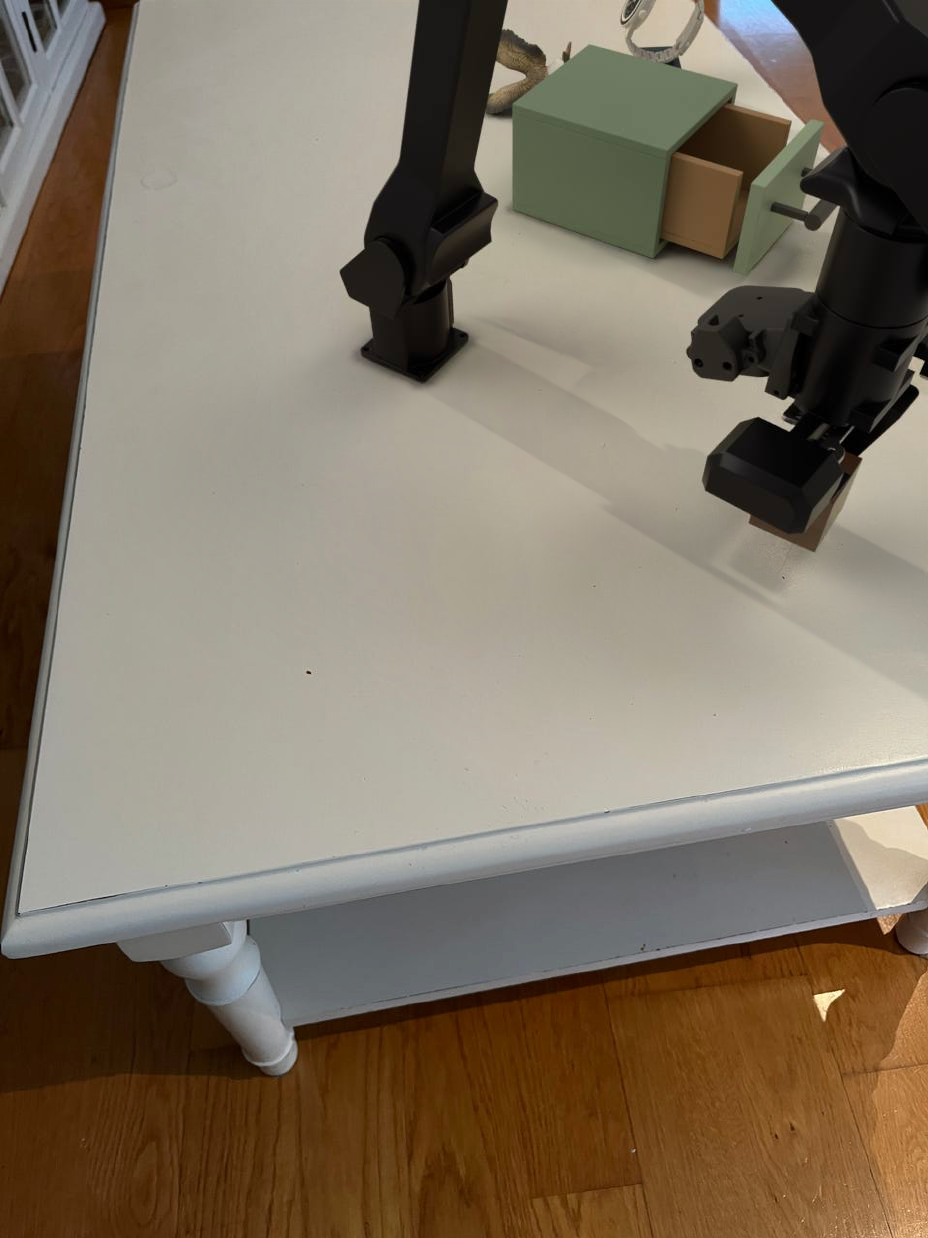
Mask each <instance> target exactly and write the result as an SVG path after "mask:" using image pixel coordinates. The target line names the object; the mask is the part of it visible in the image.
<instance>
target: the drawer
mask: <svg viewBox="0 0 928 1238" xmlns="http://www.w3.org/2000/svg"><path fill="white" fill-rule="evenodd" d="M792 122H793V121H792V120H791V119H787V118H784V117H780V116H776V115H772V114H768V113H765V112H762V111H757V110H754V109H751V108H747V107H743V106H741V105H737V104H734V105H733V104H729V103H725V104H724V105H723V106H722V107H721V108H720V109H719V110H718V111H717V112H716V113H715V114H714V115H713V116H712V117H711V118H709V119H708V120H707V121H706V122H705V123H704V124H703V125H702V126H701V127H700V128H699V129H698V130H697V131H696V132H695V133H694V134H693V135H692V136H691V137H690V138H689V139H688V140H686V141H685V142H684V143H683V144H682V145H681V146H680V147H679V148H678V149H677V150H676V151H675V152H674V153H673V154H672V155H671V158H670V166H669V173H668V180H667V187H666V194H665V202H664V209H663V216H662V223H661V231H660V238H662V239H665V240H668V241H669V242H671V243H674V244H677V245H680V246H683V247H686V248H688V249H692V250H694V251H697V252H700V253H704V254H706V255H709V256H712V257H715V258H718V259H721V260H723V259H725V257H726V256H727V255H728V254H729V253H730V251H731V250H732V249H733V248H734V247H735V246H736V245H737V243H738V245H737V249H736V250H737V251H736V253H735V258H734V265H733V267H732V268H733V269H732V272H733V273H736V274H739V275H741V276H744V277H746V276H747V275H748V274H749V272H751V270H752V269H753V268H754V267H755V266H756V265H757V263H759V261H760V260H761V259H762V258H763V256H764V255H766V253H767V251H769V249H770V248H771V247H772V246H773V245H774V244H775V242H776V241H777V240H778V239H779V238H780V236H781V235H782V234H783V233H784V232H785V230H786V229H787V228H789V226H790V225H791V224H792V223H793V221H795V220H797V221H800V222H802V223H803V225H804V227H805V228H806V229H807V230H808V231H811V232H816V231H819V229H820V228H821V227H822V226H823V224H824V223H826V221H827V220H828V218H829V217H830V216H831V215H832V214H833V212H834V211H835V210H836V209H837V208H838V207H839V206H838V205H835V204H833V203H830V202H827V201H824V200H822V199H819V200H818V202H817V203H816V204H815V205H814V206H813V208H812V209H811V210H810V211H806V210H803V208H804V203H805V199H806V196H807V194H805V193H803V192H802V191H801V190H800V181H801V180H802V178H804V177H805V176H806V175H807V174H808V173H809V172H810V171H811V170H813V169H814V167H815V162H816V159H817V155H818V150H819V147H820V143H821V140H822V136H823V131H824V127H825V123H826V122H825V121H820V120H817V119H814V118H811V119H810V120H809V121H808V122H807V123H806V124H805V125H804V126H803V128H801V130H800V131H799V132H798V133H797V134H796V135H795V136H794V137H793V138H792V139H791V140H790V141H789V143H788V140H789V136H790V131H791V127H792Z"/></svg>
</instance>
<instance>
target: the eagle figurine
mask: <svg viewBox="0 0 928 1238" xmlns="http://www.w3.org/2000/svg"><path fill="white" fill-rule="evenodd" d="M572 43H573V42H572V41H568V43H567V46H566V49H565V50H563V51H562V52H561V54H562V55H561V57H557V58H556V59H555V60H553V62H551V63H550V64H549V65H548V66H547V65H546V64H547V55H546V54H545V53H544V51H543V50H542V48H541V47H539V45H538V44H537V43H534V44H533V43H529V42H528V41H525V39H524V38H522V37H519V35H518V34H515V31H513V29H509V28H502V33H501V38H500V43H499V48H498V53H497V58H496V62H495V63H498V64H500V65H502V67H504V68H506V69H508V70H511V71H516V72H518V73H520V74H523V75H524V76H525V77H524V78H523V79H521V80H519V81H516V82H513V83H510V84H507V85H504V86H501V87H500V88H499V89H497V90H496V91H495V92H491V93H489V96H488V101H487V106H486V111H485V113H488V114H498V113H500V112H504V111H505V110H507V109H511V108H513V103H514V102H516V101H517V100H518V99H519V98H521V97H522V96H523V95H525V94H526V93H527V92H528V91H530V90H531V89H532V88H534V87H535V86H536V85H537V84H539V83H540V82H541V81H543V80H544V79H545V78H546V77H548V76H549V75H550V74H552V73H553V72H554V71H555V70H557V69H558V68H559V67H561V66H562V65H563V64H564V63H566V62H567V61H568V60H569V59H571V51H572Z"/></svg>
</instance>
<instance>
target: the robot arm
mask: <svg viewBox="0 0 928 1238" xmlns="http://www.w3.org/2000/svg"><path fill="white" fill-rule="evenodd" d="M770 2H771V3H772V4H773V5H774V6H775V7H776V9H777V10H778V11H779V12H780V13H781V14H782V16H783V17H784V18H785V19H786V20H787V21H788V22H789V24H791V26H792V27H793V28H794V30H795V31H796V32H797V34H798V36H799V37H800V39H801V41H802V42H803V43H804V45H805V47H806V49H807V50H808V52H809V54H810V56H811V60H812V63H813V68H814V73H815V76H816V81H817V84H818V89H819V93H820V98H821V102H822V106H823V108H824V110H825V111H826V113H827V115H828V116H829V117H830V119H831V121H832V123H833V124H834V126H835V128H836V129H837V131H838V133H839V135H840V136H841V137H842V139H843V141H844V142H845V144H846V145H844V146H841V147H838V148H835V149H834V150H833V151H832V152H831V153H829V154H828V155H826V157H825V158H824V159H822V161H820V162H819V163H818V164H817V165H816V166H814V167H813V170H811V171H810V172H809V173H808V174H807V175H806V176H805V177H804V178H802V180H801V181H800V190H801V191H802V192H803V193H805V194H806V195H808V196H811V197H814V198H816V199H819V200H820V199H822V200H824V201H827V202H830V203H833V204H835V205H838V206H837V207H839V209H838V212H837V215H836V219H835V222H834V224H833V229H832V232H831V234H830V239H829V242H828V245H827V249H826V252H825V256H824V259H823V262H822V266H821V269H820V272H819V276H818V279H817V283H816V285H815V289H814V291H808V290H807V291H806V290H804V289H802V288H799V287H790V286H789V287H788V286H787V287H786V286H774V285H773V286H772V285H770V286H769V285H755V284H752V285H751V284H746V285H740V286H736V287H733V288H731V289H729V290H728V291H726V292H724V294H723V295H722V296H721V297H720V298H718V299H717V300H716V301H715V302H714V303H713V304H712V305H711V306H709V308H708V309H706V310H705V312H704V313H702V314H701V316H699V317H698V319H697V322H696V323H697V325H696V326H695V327H694V328H693V329H692V330H691V331H690V339H691V340H690V345H688V347H686V349H685V354H686V357H687V358H688V359H689V360H690V364H691V369H692V371H693V372H694V373H695V375H697V376H698V377H699V378H700V379H705V380H712V381H721V382H728V383H732V382H734V381H736V379H738V377H740V376H742V377H743V376H744V377H750V378H751V377H752V378H767V381H766V385H765V388H764V391H763V392H764V393H765V394H768V395H770V396H772V397H774V398H777V399H779V400H781V401H786V400H787V399H788V397H789V398H791V399H793V402H792V403H790V405H789V406H788V407H787V408H786V409H785V410H784V411H783V413H782V416H781V420H782V421H783V422H784V423H787V424H789V425H791V426H793V427H792V428H791V429H790V430H787V429H785V428H783V427H781V426H779V425H777V424H774V423H773V422H770V421H769V420H766V419H765V418H762V417H760V416H756V417H753V418H749V419H746V420H742V421H739V423H738V424H737V425H736V426H735V427H734V428H733V429H732V430H731V431H729V433H728V434H727V435H726V436H725V437H724V438H723V439H722V441H720V443H718V444H717V446H716V447H715V448H713V450H712V451H711V452H710V453H709V454H708V455H707V456H706V460H705V464H704V470H703V473H702V474H703V475H702V477H701V483H702V486H703V489H704V491H705V492H706V493H708V494H711V495H712V496H714V497H716V498H718V499H720V500H722V501H723V502H726V503H728V504H729V505H731V506H733V507H735V508H737V509H739V510H741V511H743V512H745V513H746V514H748V515H750V516H751V515H752V516H754V517H756V518H758V519H760V520H762V521H764V522H766V523H767V524H769V525H771V526H773V527H775V528H777V529H779V530H781V531H783V532H785V533H787V534H788V535H791V534H802V533H804V532H805V531H806V530H807V529H808V528H809V526H810V525H811V524H812V523H813V522H814V520H815V519H816V518H817V517H818V516H819V514H820V513H821V512H822V511H823V509H824V508H825V507H826V506H827V505H828V504H829V503H830V502H831V501H832V500H833V499H834V497H835V496H836V495H837V494H838V492H839V491H840V490H841V489H842V488H843V486H844V485H845V484H846V483H847V482H848V480H849V479H850V478H851V476H852V475H850V474H848V473H846V472H844V471H843V470H842V468H841V466H840V464H839V463H840V462H841V461H842V460H843V458H844V455H845V451H846V452H848V453H851V454H853V455H856V456H858V457H860V456H861V455H862V454H863V453H864V452H865V451H866V450H867V449H868V448H869V447H871V446H872V445H873V444H874V443H875V442H876V441H877V440H878V439H879V438H880V437H882V436H883V435H884V434H885V433H886V432H887V431H889V429H890V428H891V427H892V426H894V425H895V424H896V423H897V422H898V421H899V419H901V418H902V417H903V415H904V414H905V413H906V412H907V411H908V409H909V408H910V407H911V406H912V405H913V404H914V402H915V401H916V399H918V398H919V395H920V390H919V388H918V387H917V386H915V385H914V384H913V383H912V380H913V378H914V376H915V374H916V371H915V370H914V369H911V368H909V366H910V364H911V362H912V360H913V357H914V358H916V359H918V360H920V361H923V364H922V366H921V368H920V370H919V373H918V375H919V377H920V379H923V380H925V381H928V0H770ZM508 3H509V0H418V4H417V13H416V21H415V28H414V36H413V44H412V51H411V53H412V54H411V60H410V69H409V77H408V84H407V93H406V100H405V101H406V102H405V109H404V118H403V124H402V125H403V126H402V134H401V143H400V150H399V157H398V161H397V163H396V165H395V167H394V168H393V170H392V172H391V173H390V175H389V177H388V178H387V180H386V182H385V183H384V184H383V186H382V188H381V189H380V191H379V193H378V194H377V195H376V197H375V199H374V200H373V202H372V205H371V209H370V212H369V215H368V220H367V222H366V225H365V229H364V233H363V249H362V250H360V252H359V253H358V254H356V255H355V256H354V257H353V258H352V259H350V261H348V262H347V263H346V264H345V265H343V267H341V268H340V269H339V277H340V278H341V281H342V283H343V285H344V289H345V291H346V294H347V296H348V297H349V298H350V299H351V300H354V301H355V302H358V303H359V304H362V305H363V306H365V307H367V308H368V311H369V312H368V313H369V318H370V326H371V333H372V334H371V335H372V338H371V339H369V340H368V341H367V342H366V343H365V344H364V345H362V346H361V348H360V349H359V350H360V351H359V352H360V356H361V357H362V358H364V359H367V360H368V361H372V362H374V363H375V364H378V365H380V366H382V367H385V368H387V369H389V370H391V371H394V372H396V373H398V374H400V375H402V376H405V377H407V378H410V379H412V380H414V381H416V382H419V383H425V382H427V381H429V379H430V378H432V377H433V376H434V375H435V374H436V372H438V371H439V370H440V369H441V368H443V366H444V365H446V363H448V362H449V360H450V359H452V358H453V357H454V356H455V355H456V354H457V353H458V352H459V351H460V350H461V349H462V348H463V347H464V346H465V345H466V344H468V343H469V341H470V336H469V333H468V332H467V331H464V330H461V329H460V328H456V327H454V324H455V316H454V315H455V312H454V311H455V310H454V295H453V294H454V293H453V282H452V279H451V276H452V275H454V274H455V273H457V271H459V270H460V269H464V268H466V266H468V264H469V261H470V259H471V258H472V257H474V256H475V255H476V254H477V253H479V252H480V251H482V250H483V249H484V248H486V247H487V246H488V245H490V244H491V243H492V242H493V239H492V231H491V230H492V222H493V220H494V219H493V218H494V217H495V214H496V212H497V209H498V207H499V200H498V198H496V197H495V196H493V195H491V194H489V193H487V192H486V191H485V190H484V187H483V185H482V183H481V181H480V179H479V177H478V174H477V173H476V170H475V167H476V166H475V164H476V160H477V154H478V149H479V144H480V139H481V134H482V130H483V125H484V120H485V115H486V112H485V111H486V106H487V101H488V96H489V94H490V91H491V87H492V82H493V76H494V72H495V67H496V63H497V62H496V58H497V53H498V48H499V43H500V38H501V33H502V30H503V29H504V23H505V18H506V14H507V8H508ZM911 383H912V384H911ZM820 441H821V442H820Z"/></svg>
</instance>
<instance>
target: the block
mask: <svg viewBox="0 0 928 1238" xmlns="http://www.w3.org/2000/svg"><path fill="white" fill-rule="evenodd" d="M820 442H821V441H820ZM862 462H863V457H861V456H856V455H853V454H851V453H848V452H846V451H845V455H844V458H843V460H842V461H841V462H840V463H839V464H840V466H841V468H842V470H843V471H844V472H846V473H848V474H850V475H852V476H851V478H850V479H849V480H848V482H847V483H846V484H845V485H844V486H843V488H842V489H841V490H840V491H839V492H838V494H837V495H836V496H835V497H834V499H833V500H832V501H831V502H830V503H829V504H828V505H827V506H826V507H825V508H824V509H823V511H822V512H821V513H820V514H819V516H818V517H817V518H816V519H815V520H814V522H813V523H812V524H811V525H810V526H809V528H808V529H807V530H806V531H805V532H804V533H802V534H791V535H788V534H787V533H785V532H783V531H781V530H779V529H777V528H775V527H773V526H771V525H769V524H767V523H766V522H764V521H762V520H760V519H758V518H756V517H754V516H752V515H750V516H749V518H748V519H749V520H748V524H749V525H750V526H753V527H755V528H758V529H760V530H762V531H764V532H767V533H768V534H771V535H773V536H776V537H778V538H780V539H782V540H784V541H786V542H789V543H791V544H794V545H796V546H798V547H801V548H803V549H805V550H807V551H809V552H812V553H816V551H818V549H819V547H820V545H821V544H822V542H823V541H824V539H825V537H826V536H827V534H828V533H829V531H830V529H831V528H832V526H833V524H834V523H835V521H836V520H837V518H838V516H839V515H840V513H841V512H842V510H843V508H844V506H845V504H846V502H847V501H846V500H847V499H848V496H849V494H850V491H851V489H852V486H853V484H854V481H855V479H856V477H857V474H858V472H859V469H860V467H861V465H862Z"/></svg>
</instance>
